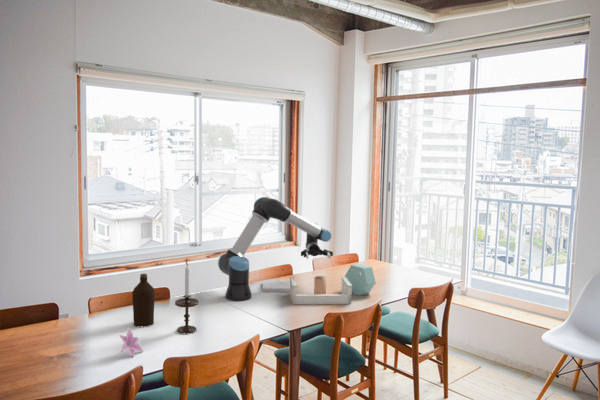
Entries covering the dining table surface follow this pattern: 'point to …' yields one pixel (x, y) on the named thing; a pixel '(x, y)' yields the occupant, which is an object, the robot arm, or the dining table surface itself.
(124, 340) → the lily
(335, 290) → the dining table surface
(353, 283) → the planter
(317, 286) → the pot
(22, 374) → the dining table surface
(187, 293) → the candlestick
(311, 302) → the grey u-shaped bracket
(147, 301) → the olive oil
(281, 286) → the potting board
